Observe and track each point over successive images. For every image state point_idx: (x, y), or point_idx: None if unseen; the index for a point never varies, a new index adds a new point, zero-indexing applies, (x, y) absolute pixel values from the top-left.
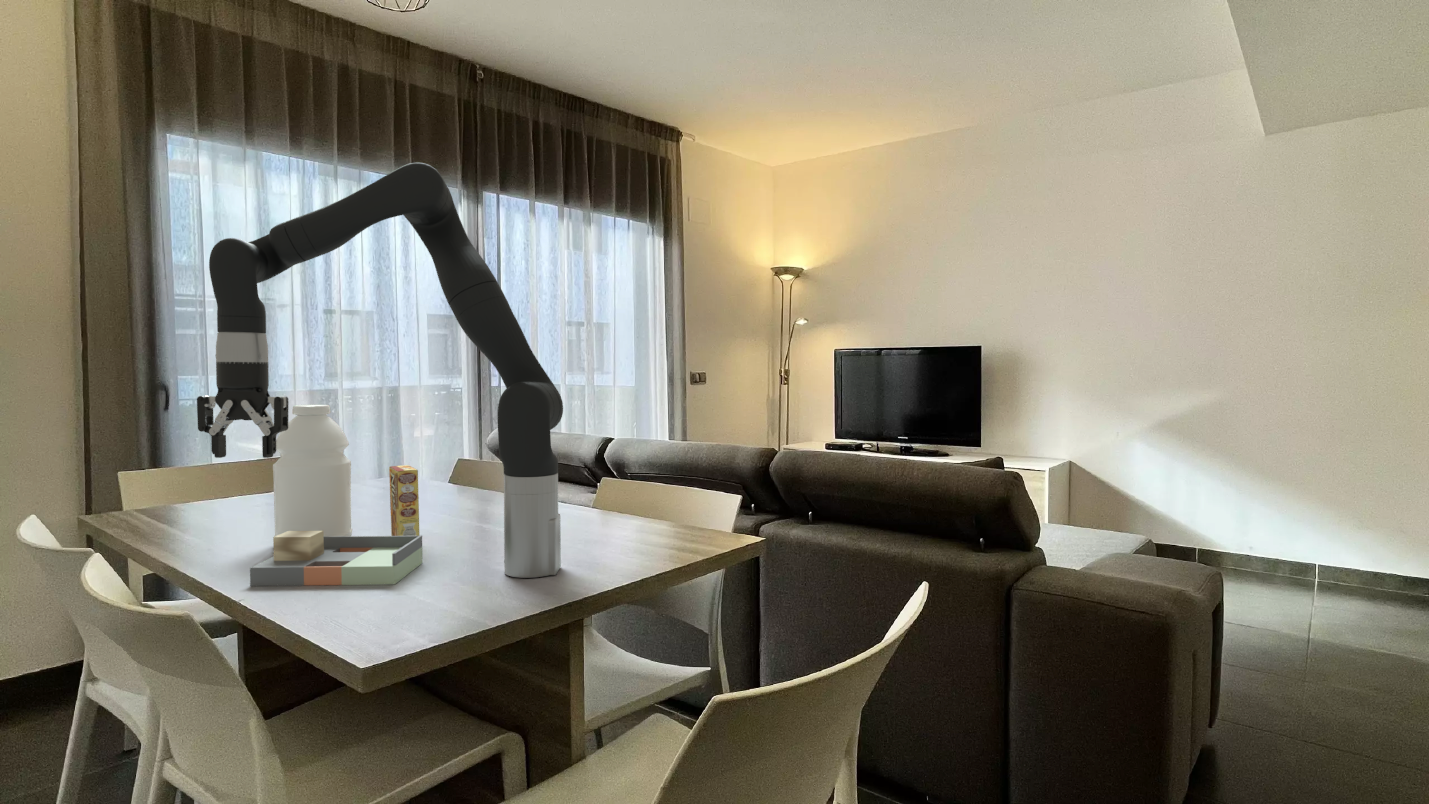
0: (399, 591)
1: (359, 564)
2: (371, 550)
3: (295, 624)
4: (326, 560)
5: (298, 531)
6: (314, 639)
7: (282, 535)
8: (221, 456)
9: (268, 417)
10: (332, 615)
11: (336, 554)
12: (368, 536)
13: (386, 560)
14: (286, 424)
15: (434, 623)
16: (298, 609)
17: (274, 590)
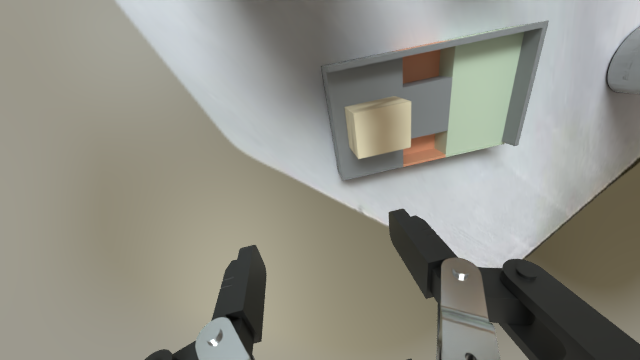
0: (495, 158)
1: (462, 143)
2: (457, 66)
3: None
4: (416, 133)
5: (373, 114)
6: None
7: (364, 146)
8: (262, 262)
9: (491, 353)
10: (455, 222)
11: (415, 100)
12: (459, 43)
13: (490, 120)
14: (552, 291)
15: (531, 221)
16: (423, 217)
17: (372, 178)
